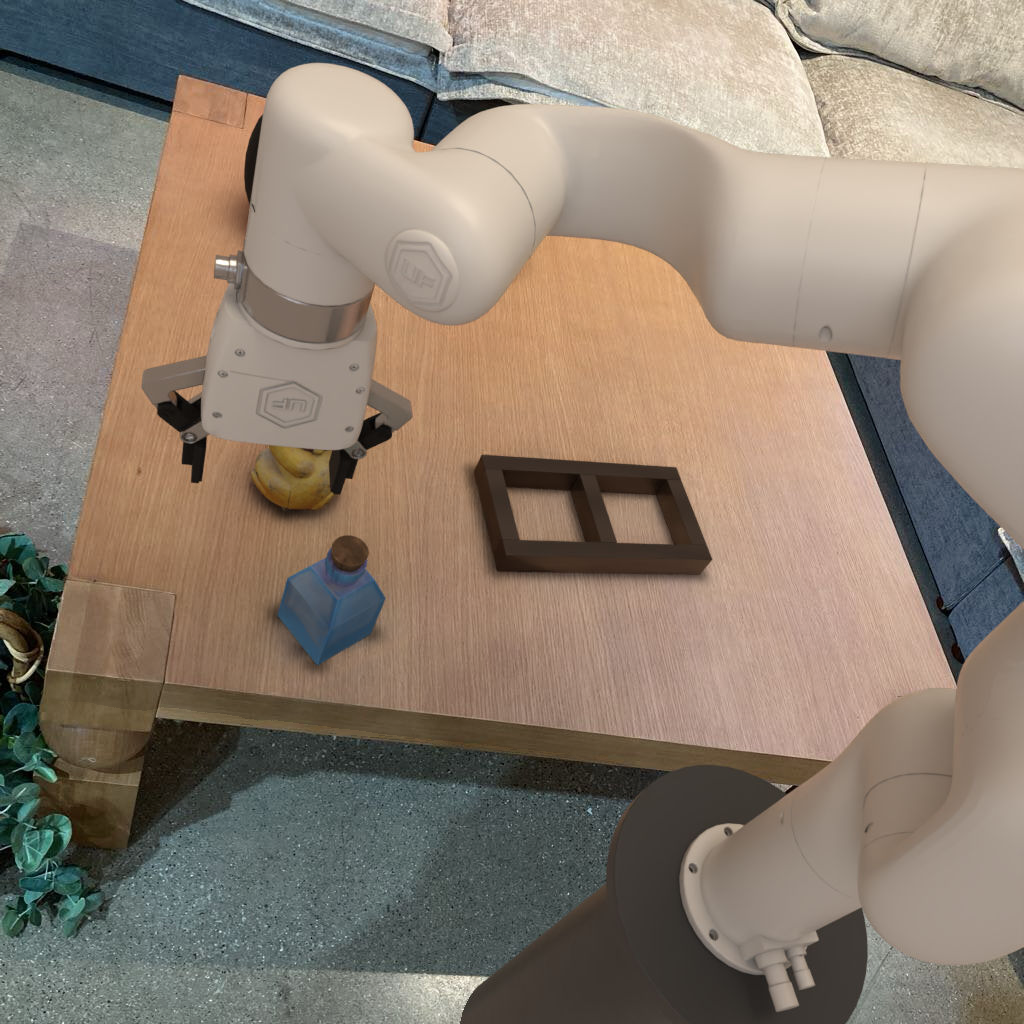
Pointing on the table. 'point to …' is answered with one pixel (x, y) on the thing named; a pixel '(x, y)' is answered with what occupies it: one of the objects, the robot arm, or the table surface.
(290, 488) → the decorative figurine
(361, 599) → the perfume bottle
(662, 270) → the table surface
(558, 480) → the holder
